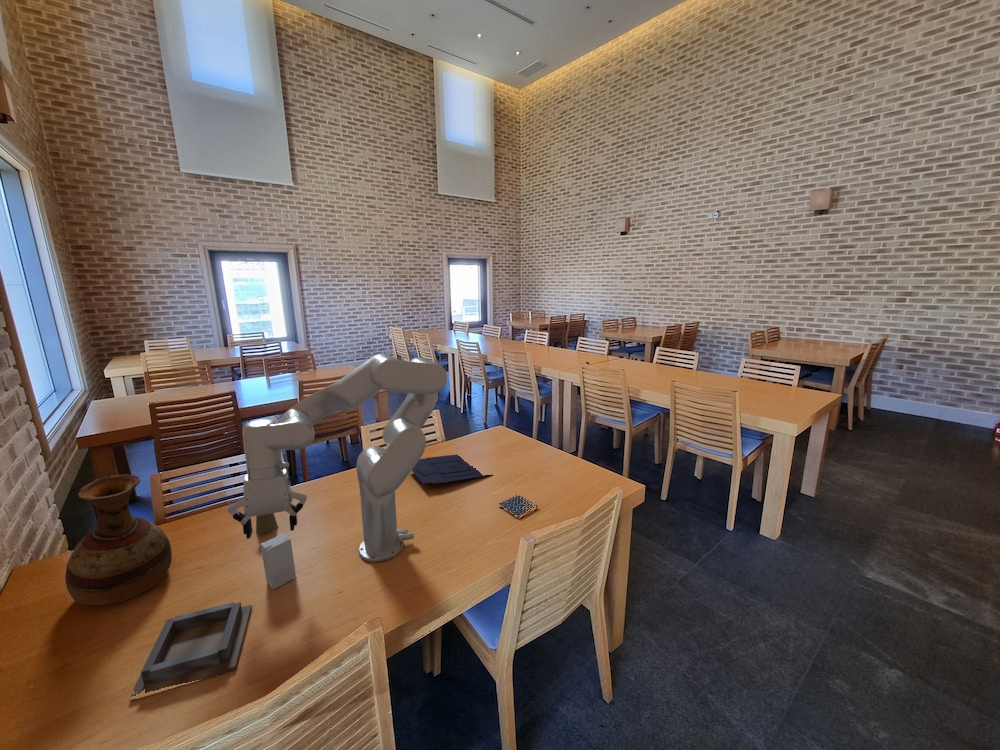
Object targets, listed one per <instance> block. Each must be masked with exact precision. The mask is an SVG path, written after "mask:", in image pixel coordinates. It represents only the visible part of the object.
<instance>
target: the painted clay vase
mask: <svg viewBox="0 0 1000 750" xmlns="http://www.w3.org/2000/svg"><path fill="white" fill-rule="evenodd" d="M140 483H141V480H140V477H139V476H137V475H134V474H133V475H132V474H127V473H123V474H121V473H117V474H114V475H107V476H106V475H105V476H103V477H100V478H96V479H94V481H92V482H90V483H88V484H86V485H84V486H83V487H82V488H80V489H79V492H78V493H77V496H78V498H79V499H80V500H82V501H85V502H89V503H92V504H91V505H92V507H93V511H94V515H95V518H96V523H95V524H96V525H95V527H94V528H92V529H91V530H90V531H88V532H87V533H86V534H85V535H84V536H83V537H82V539H81V540H80V541H79V542H78V543H77V544H76V545H75V548H73V550H72V552H71V554H70V556H69V559H68V560H67V565H66V569H65V577H64V578H65V579H64V580H65V585H66V589H67V592H68V594H69V595H70V597H71V598H72V600H74V602H77V603H78V604H81V605H85V606H86V605H88V606H89V605H90V606H91V605H92V606H98V605H99V606H100V605H101V606H102V605H109V604H113V603H119V602H123V601H126V600H129V599H132V598H135V597H137V596H139V595H141V594H143V593H144V592H147V591H148V590H150V589H151V588H152V587H153V586H155V585H156V584H158V582H159V581H161V580H162V579H163V577H164V576H165V575H166V574H167V573H168V571H169V569H170V567H171V565H172V558H173V557H172V556H173V554H172V553H173V552H172V545H171V542H170V540H169V538H168V536H167V535H166V533H165V532H164V531H163V530H162V528H160V527H159V526H158V525H157V524H155V523H153V522H152V521H150V520H148V519H146V518H143V517H137V516H133V515H132V513H131V511H130V506H129V502H130V496H131V494H132V492H133V490H134V489H135V488H136V487H137V486H138V485H140Z"/></svg>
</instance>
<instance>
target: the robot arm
mask: <svg viewBox="0 0 1000 750" xmlns="http://www.w3.org/2000/svg"><path fill="white" fill-rule="evenodd" d="M447 383H448V374H447V371H446V370H445V368H444V367H443V366H442V365H440V364H439V363H436V362H435V361H432V360H431V359H428V358H427V357H423V356H420V357H419V356H417V357H414V358H412V359H411V360H402V359H398V358H395V357H394V356H392V355H390V354H387V353H377V354H375V355H373V356H372V357H370V358H368V359H367V360H366V361H364V362H363V363H361V364H360V365H358V366H357V367H355V368H354V369H352V371H350V372H348V373H347V374H345V375H344V376H342V377H341V378H340V379H338V380H336V381H335V382H334V383H332V384H330V385H327V386H325V387H323V388H322V389H319V390H317V391H316V392H313V393H312V394H309V395H308V396H306V397H304V399H302V400H300V401H299V402H297V403H296V404H295V405H293V406H292V407H290V408H289V409H287V410H286V411H285V412H284V413H283V415H282V416H281V417H280V419H279V422H277V421H276V420H274V419H270V418H260V419H254V420H251V421H248V422H247V423H245V424H244V425H243V427H242V441H243V449H244V459H245V466H246V474H245V476H244V480H243V498H242V499H240V500H238V501H236V502H234V503H233V504H231V505H229V506H228V508H227V510H226V511H227V513H228V514H229V515H230V516H231V517H232V518H233V519H234V521H237V522H239V523H240V525H241V526H242V530H243V531H242V532H243V535H246V539H247V540H249V539H251V537H252V534H253V525H252V517H256V516H259V515H265V514H271V513H274V514H276V513H277V514H278V513H282V512H286V514H287V513H288V515H289V518H288V520H289V526H290V527H289V528H290V531H291V532H293V531H294V530H295V526H298V517H297V516H298V513H299V512H300V511H301V510H302V509H303V507H304V505H305V503H306V501H307V498H308V495H307V494H304V493H301V492H300V493H299V492H296V491H292V487H291V481H290V477H289V474H288V471H287V469H286V468H289V467H290V463H289V462H288V461H287V462H285V461H284V460H283V457H282V451H297V450H298V451H299V450H303V449H306V448H308V447H309V446H310V445H311V444H313V441H314V439H315V435H316V434H315V429H314V426H315V425H316V424H318V423H319V422H320V421H322V420H323V419H324V418H326V417H327V416H330V415H331V414H334V413H337V412H342V411H352V410H355V409H357V408H358V407H360V406H361V405H363V404H364V403H366V402H367V401H368V400H369V399H371V398H372V397H374V396H375V395H376V394H377V393H379V392H380V391H382V390H383V391H386V392H390V393H400V394H407V395H406V397H405V398H404V400H403V401H402V403H401V405H400V406H399V407H398V409H397V410H396V412H395V413H394V414H393V416H392V417H391V418H390V420H389V421H388V422H387V423H386V425H385V426H384V428H383V429H382V434H381V435H382V440H383V441H384V443H385V444H386V446H387V447H386V449H385V448H384V447H382V446H377V445H373V446H368V447H366V448H364V450H362V451H361V452H360V453H359V456H357V460H356V475H357V480H358V488H359V494H360V495H359V496H360V508H361V519H362V520H361V521H362V533H363V541H362V542H361V543H360V544H359V548H358V554H359V556H360V558H361V559H363V560H364V561H367V562H371V563H381V562H385V561H388V560H391V559H392V558H395V557H397V556H398V555H399V554H400V553H401V552H402V550H403V548H404V541H408V540H413V539H414V537H415V536H414V535H415V534H414V531H411V532H410V531H409V529H408V528H406V529H403V530H400V529H399V528H398V525H397V523H398V522H397V507H396V506H397V505H396V491H397V490H398V489H399V488H400V487H401V486H402V484H403V483H404V482H405V481H406V479H407V477H408V476H409V475H410V473H411V472H413V471H412V469H413V468H414V466H415V465H416V464H417V462H418V461H419V459H422V457H423V455H424V452H425V450H426V447H427V438H426V435H425V433H424V431H423V429H422V428H423V427H424V425H425V423H426V422H427V420H428V419H429V417H430V416H431V414H432V412H433V410H434V409H435V406H436V403H437V394H438V393H440V392H442V390H444V389H445V388H446V386H447ZM293 500H297V501H299V502H298V503H297V504H296V505H295V504H293V503H292V502H293ZM242 507H243V511H244V513H242V512H240V511H238V509H239V508H242Z"/></svg>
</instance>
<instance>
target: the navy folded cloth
mask: <svg viewBox="0 0 1000 750" xmlns="http://www.w3.org/2000/svg"><path fill="white" fill-rule="evenodd" d="M458 455H459V454H448V455H441V456H438V455H437V456H433V457H424V458H420V459H419V461H418V462H417V464H416V465H415V466H414V468H413V469H412V471H411V472H413V474H414V475H415V477H417V478H418V480H419V481H420V482H421V484H429V483H432V484H439V483H450V482H455V481H461V480H467V479H468V480H469V479H473V478H482V477H484V476H483V475H482V474H481V473H480V472H479V471H478V470H476V468H473V466H470V465H469V464H468V463H467V462H465V461H464V460H463V459H462V458H461V457H460V456H458Z"/></svg>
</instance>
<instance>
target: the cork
mask: <svg viewBox="0 0 1000 750" xmlns="http://www.w3.org/2000/svg"><path fill="white" fill-rule="evenodd" d="M255 518H256V519H255V521H256V522H255V524H256V525H255V533H256V534H257V535H258V536H266V535H268V534H271V533H274V532H275V531H276V530H277V529H278V528H279V526H278V523H277V520H276V517H275V513H271V514H265V515H259V516H255Z"/></svg>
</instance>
